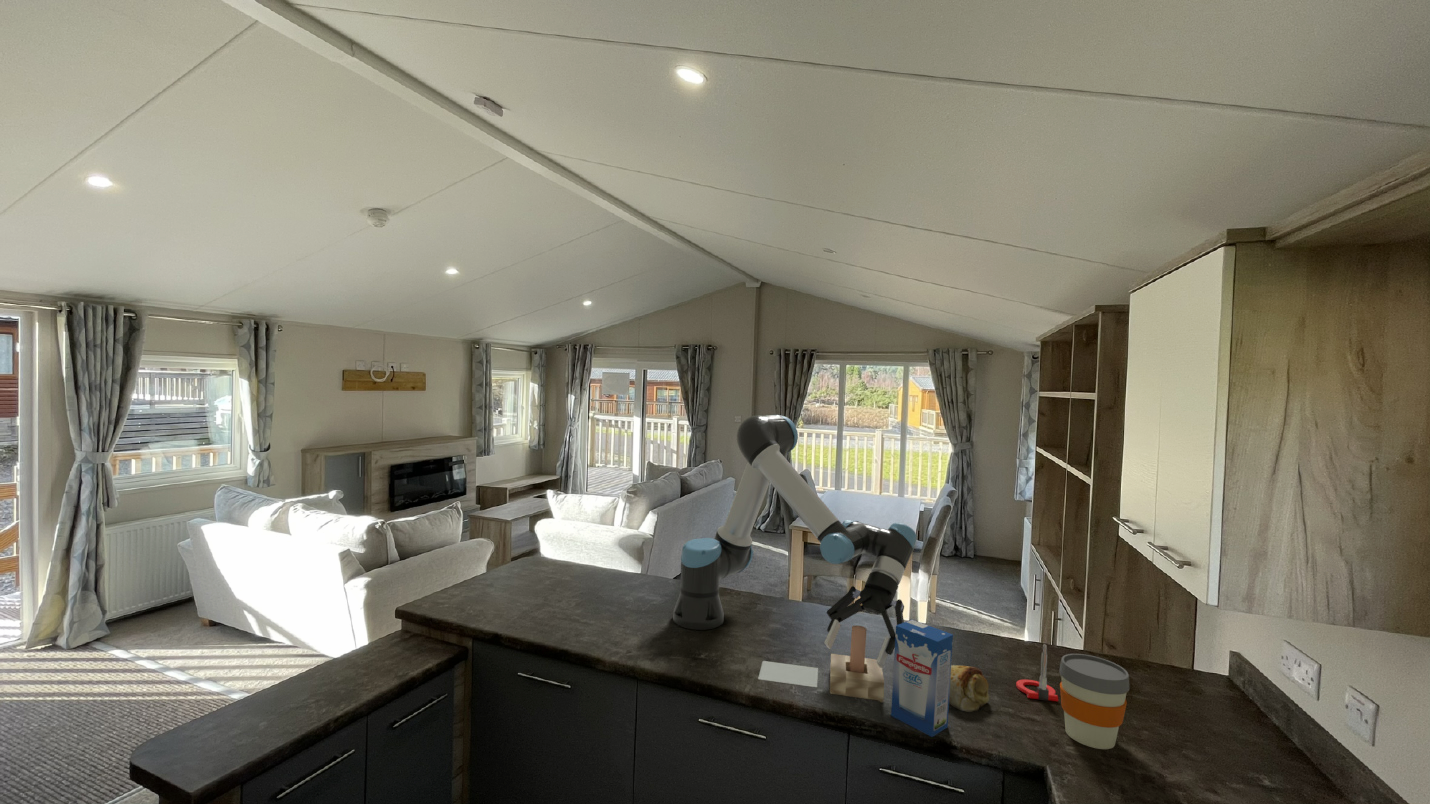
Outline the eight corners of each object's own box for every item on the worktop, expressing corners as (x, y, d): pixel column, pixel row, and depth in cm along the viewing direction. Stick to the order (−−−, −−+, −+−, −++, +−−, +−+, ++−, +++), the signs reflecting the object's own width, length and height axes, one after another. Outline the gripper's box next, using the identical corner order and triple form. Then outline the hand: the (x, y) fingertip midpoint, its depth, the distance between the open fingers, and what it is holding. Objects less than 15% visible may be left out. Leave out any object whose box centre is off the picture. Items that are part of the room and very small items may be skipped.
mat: (757, 680, 145) (757, 679, 145) (762, 662, 155) (762, 660, 155) (816, 688, 143) (817, 687, 143) (818, 669, 153) (818, 668, 153)
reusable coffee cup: (1053, 739, 126) (1057, 668, 126) (1058, 713, 136) (1062, 648, 136) (1125, 762, 119) (1130, 687, 119) (1125, 733, 130) (1129, 664, 129)
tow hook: (1011, 682, 152) (1024, 699, 142) (1013, 630, 152) (1027, 644, 143) (1047, 686, 150) (1062, 703, 141) (1049, 634, 151) (1065, 648, 141)
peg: (848, 688, 144) (852, 630, 143) (848, 681, 147) (851, 624, 147) (863, 690, 143) (866, 631, 143) (862, 683, 146) (866, 626, 146)
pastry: (987, 718, 133) (989, 682, 133) (927, 703, 139) (929, 668, 139) (990, 691, 146) (992, 658, 146) (935, 677, 151) (937, 646, 151)
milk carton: (890, 715, 132) (895, 625, 132) (906, 706, 136) (911, 619, 136) (932, 737, 125) (937, 641, 124) (948, 727, 129) (953, 634, 128)
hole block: (829, 694, 140) (830, 675, 140) (830, 671, 152) (831, 653, 152) (883, 702, 138) (884, 683, 138) (879, 677, 150) (880, 659, 150)
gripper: (936, 599, 148) (907, 681, 137) (845, 575, 164) (812, 646, 153) (929, 583, 144) (898, 665, 133) (836, 559, 160) (802, 631, 149)
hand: (852, 655), depth 143 cm, fingers open, 13 cm apart
